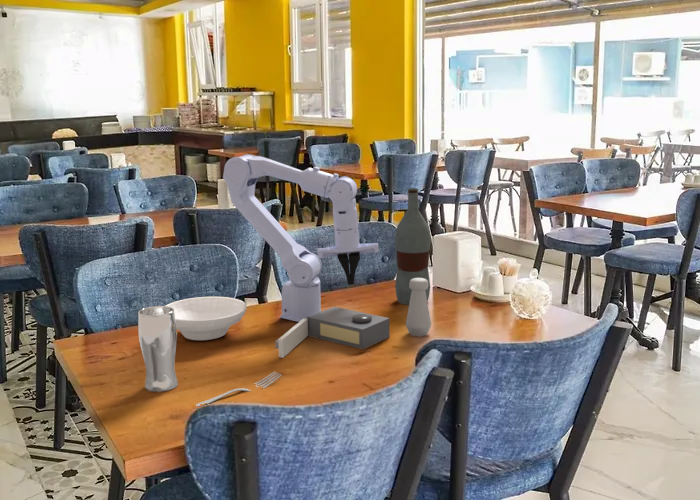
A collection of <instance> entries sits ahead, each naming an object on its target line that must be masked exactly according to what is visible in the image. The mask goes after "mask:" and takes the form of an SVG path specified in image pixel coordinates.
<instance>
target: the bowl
mask: <svg viewBox="0 0 700 500" xmlns="http://www.w3.org/2000/svg"><path fill="white" fill-rule="evenodd" d="M165 306H168V307H172V308H173V309H174V314H175V320H176V328H177V331H179V332H180V333H181V334H182V336H183V337H184V338H185V339H187V340H192V341H209V340H214V339H219V338H221V337H223V336H225V335H226V334H227V332H228V331H229V329H230V327H231V326H234V325H236V324H238V323H239V322H240V321H241V320H242V318H243V317H244V315H245V313H246V312H247V303H246V302H245V301H243V300H241V299H237V298H234V297H229V296H228V297H226V296H201V297H200V296H199V297H198V296H197V297H191V298H184V299H181V300H177V301H173V302H170V303H168V304H166V305H165Z"/></svg>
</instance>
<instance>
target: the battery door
mask: <svg viewBox="0 0 700 500" xmlns="http://www.w3.org/2000/svg"><path fill="white" fill-rule="evenodd" d="M307 337H309V336H308V318H303V319H302V320H301V321H300V322H297V323H296V324H294V325H293V326H292V327H291V328H290V329H289V330H287V331H286V332H285V333H284V334H283V335H282V336H280V337H279V338H278V339H276V340H274V341H275V342H274V343H275V349H277V350H278V358H282V359H283V358H285V357H286V356H287V355H288V354H289V353H291V351H293V350H294V349H295V348H296V347H297V346H298V345H299V344H300V343H301V342H303V341H304V340H305V339H306V338H307Z"/></svg>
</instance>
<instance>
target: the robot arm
mask: <svg viewBox="0 0 700 500" xmlns="http://www.w3.org/2000/svg"><path fill="white" fill-rule="evenodd" d="M223 168H224V169H223V175H222V179H223V180H224V182H225V183H226V186H227V190H228V194H229V197H230V201H231V203H232V204H233V206H234V207H235V208H236V209H237V211H238V212H240V213H239V214H241V215H242V216H243V217H244V218H245V220H247V222H249V224H250V225H251V226H252V227H253V228H254V229H255V230H256V232H257V233H258V234H259V235H260V236H261V237H262V238H263V239H264V240H265V242H266V243H267V244H268V245H269V246H270V247H271V248H272V249H273V251H275V253H276V254H277V255H278V256H279V257H280V260H281V265H282V267H283V268H284V269H285V271H286V273H287V277H288V279H289V280H288V281H286V282H285V283H284V284H283V286H282V288H281V295H280V296H281V315H280V316H279V318H281V319H284V320H289V321H294V322H297V323H299V322H300V321H301V320H302V319H303V318H307V317H308V316H310V315H313V314H316V313H318V312H321V311H322V305H321V304H322V303H321V302H322V301H321V299H322V298H321V297H322V296H321V280H320V277H319V275H320V274H321V271H322V269H323V268H322V267H323V263H322V261H321V259H322V258H324V257H325V258H327V257H335V256H336V257H337V259H338V261H339V264H340V265H341V267H342V269H343V271H344V274H345V277H346V281H347V285H348V286H350V285H351V286H352V285H355V275H356V271H357V267H358V265H359V263H360V260H361V254H367V253H368V254H369V253H379V251H380V250H379V244H378V242H373V243H360V234H359V233H360V231H359V222H358V220H359V219H358V209H357V201H356V196H357V193H358V186H357V183H356V181H354V180H353V178H350V177H349V176H346V175H345V176H341V177H339V176H340V175H339V174H338V173H335V172H334V173H333V174H332V173H328V172H326V171H322V170H321V168H320V167H318V166H313V168H312V167H307V168H306V169H304V170H301V169H298V168H296V167H294V166H291V165H288V164H285V163H282V162H279V161H276V160H273V159H270V158H268V157H264V156H260V155H253V154H251V153H250V154H243V155H241V156H235V157H231V158H230V159H228V160H227V161H226V163H225V164H224V167H223ZM266 176H268V177H273V178H275V179H276V178H277V179H279V180H283V181H288V182H291V183H294V184H297V185H299V186H300V189H301V190H302V191H303V192H306V193H309V194H312V195H315V196H319V197H322V198H326V199H328V198H329V199H330V201H331V202H332V215H333V216H332V217H333V218H332V219H333V230H334V231H333V232H334V241H335V242H334V243H335V245H334V246H327V247H320V248H317V250H316V251H317V254H315V253H312V252H311V251H309V250H308V249H307V247H305V246H303V245H302V244H299V243H298V242H296V240H295V239H294V238H293V237H292V236H291V235H290V234H289V233H288V231H286V229H285V228H284V226H282V225H281V224H280V222H278V221H277V220H276V218H275V217H274V216H273V215H272V213H270V212H269V210H268V209H267V208H266V207H265V206H264V205H263V203H261V201H260V200H259V199H258V198H257V197H256V196H255V192H256V184H257V181H258V179H259V178H261V177H266Z"/></svg>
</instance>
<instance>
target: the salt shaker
mask: <svg viewBox="0 0 700 500" xmlns="http://www.w3.org/2000/svg"><path fill="white" fill-rule="evenodd" d="M409 287H410V289H412V292H411V298H410V303H409V305H408V309H407V316H406V320H405V326H406V329H407V331H408V334H409V335H411V336H413V337H424V336H427V335H428V334H429V331H430V329H431V326H432V321H431V315H430V310H429V303H428V301H427V298H426V291H425V290H426V289H428V281H427V280H426V279H424V278H413V279H411V280H410V283H409Z"/></svg>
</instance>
